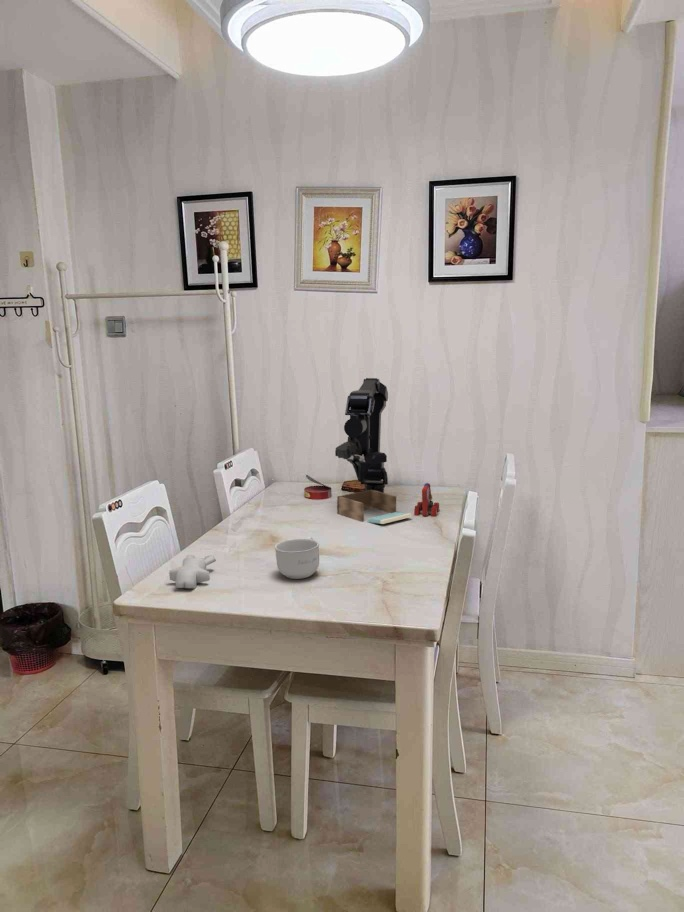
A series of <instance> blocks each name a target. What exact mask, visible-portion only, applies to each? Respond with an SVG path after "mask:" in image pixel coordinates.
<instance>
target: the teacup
mask: <svg viewBox="0 0 684 912" xmlns="http://www.w3.org/2000/svg"><path fill="white" fill-rule="evenodd" d="M319 545H320V542H319V541H318V540H316V539H313V537H312V536H306V537H305V538H304V537H302V538H301V537H300V538H299V537H298V538H297V537H296V538H290V539H285V540H282V541H280V542H278V543H275V545H274V550H275V559H276V565H277V566H276V567H277V569H278V571H279V573H280V574H282V575H283V576H284V577H286V578H288V579H292V580H300V579H305V578H309V577H311V576H312V575H314V573H315V572H316V571H317V570H318V568H319V566H320V548H319V547H320V546H319Z"/></svg>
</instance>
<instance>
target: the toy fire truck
mask: <svg viewBox="0 0 684 912" xmlns="http://www.w3.org/2000/svg"><path fill="white" fill-rule="evenodd" d="M431 491H432V490H431V484H430V483H429V482H426V483H424V484H423V487H422V490H421V499H422V500H421V501H418V502H417V505H415V506H414V511H413V513H414V514H413V515H414V516H418V517H419V516H420V515H422V517H427V516H429V515H430V516H431V517H432V518H433V517H434V518H435V517H437V515H438V513H439V511H440V502H434V501H433V495H432V492H431Z"/></svg>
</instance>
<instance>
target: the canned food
mask: <svg viewBox="0 0 684 912" xmlns="http://www.w3.org/2000/svg"><path fill="white" fill-rule="evenodd" d="M305 477H306V479H308V480H309V481H310V482H312V483H315V484H318V485H310V486H306V487H305V488H304V489H303V490H304V498H305V499H308V500H312V501H313V500H315V501H321V500H327V499H331V498H332V497H333V496H332V487H331V486H328V485H325V484H323V483H321V482H320V481H318V480H316V479H315V478H313V477H311V476H310V475H309V474H305Z"/></svg>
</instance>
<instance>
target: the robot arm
mask: <svg viewBox="0 0 684 912" xmlns="http://www.w3.org/2000/svg"><path fill="white" fill-rule="evenodd" d="M362 382H363V383H362V384H361V385H360V387H359V388H358V390H353V391H351V392H350V393H349V395H348V396H347V400H346V404H345V405H346V407H345V410H344V411H345V413H344V415H345V416H349V419H347V420H346V421H345V423H344V425H343V430H344V433H345V434H346V435H347V436H348V437H347V441H346V442H343V443H341V444H339V445H338V446H336V447H335V450H334V451H335V454H334V455H335V457H337V458H338V459H344V460H346V461H347V462H349V463H350V464H351V465H352V466H353V469H354V472H355V476H356V478H357V480H358V483H359V482H360V485H364V491H367V490H375V491H379V492H382V493H385V492H384V491H385V489H384V486H386V485H389V482H388V481H389V479H388V472H387V470H386V468H385V463H387V462H388V461H387V459H388V456H387V455H388V454H386V453H385V452H382V451H381V432H382V430H381V427H382V426H381V425H382V413H383V411H384V410H385V408H386V407H387V402H388V399H389V392H388V388H387V385H385V384H383V383H382V382H381V381H380V378H377V377H376V378H375V377H366V378H364V379H363V381H362Z"/></svg>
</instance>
